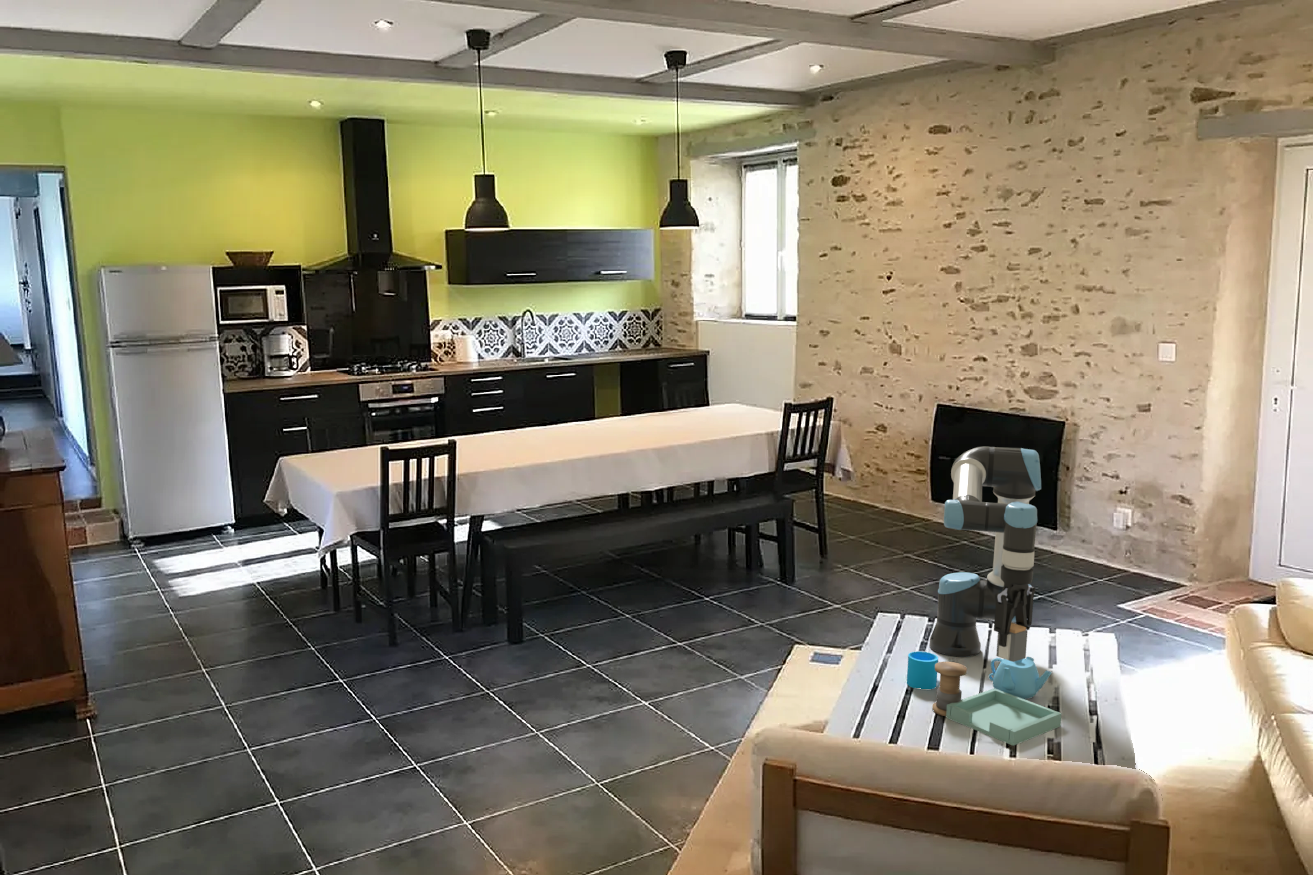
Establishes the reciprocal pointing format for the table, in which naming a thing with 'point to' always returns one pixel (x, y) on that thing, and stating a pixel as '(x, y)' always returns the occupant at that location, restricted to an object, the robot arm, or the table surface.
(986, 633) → the table surface
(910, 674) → the mug
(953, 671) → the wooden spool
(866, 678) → the table surface
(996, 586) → the robot arm
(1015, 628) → the gray and orange block
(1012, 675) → the teapot
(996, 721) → the pale green tray
